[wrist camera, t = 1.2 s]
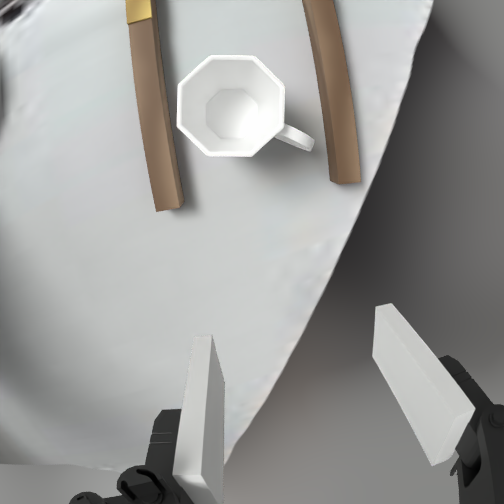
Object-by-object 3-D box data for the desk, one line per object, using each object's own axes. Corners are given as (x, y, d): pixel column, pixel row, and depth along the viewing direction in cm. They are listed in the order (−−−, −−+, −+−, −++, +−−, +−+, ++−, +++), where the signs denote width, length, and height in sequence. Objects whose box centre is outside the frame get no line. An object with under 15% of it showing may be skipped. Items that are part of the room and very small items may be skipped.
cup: (211, 64, 24) (202, 36, 16) (317, 111, 25) (348, 101, 18) (177, 137, 26) (155, 136, 18) (284, 181, 27) (303, 198, 20)
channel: (162, 205, 28) (155, 212, 25) (131, -65, 17) (124, -77, 15) (351, 178, 28) (362, 182, 25) (298, -86, 17) (302, -99, 15)
